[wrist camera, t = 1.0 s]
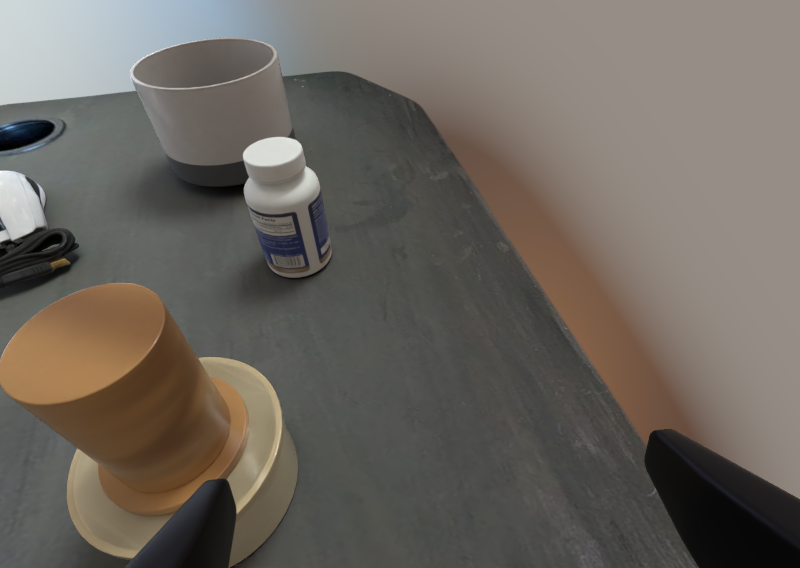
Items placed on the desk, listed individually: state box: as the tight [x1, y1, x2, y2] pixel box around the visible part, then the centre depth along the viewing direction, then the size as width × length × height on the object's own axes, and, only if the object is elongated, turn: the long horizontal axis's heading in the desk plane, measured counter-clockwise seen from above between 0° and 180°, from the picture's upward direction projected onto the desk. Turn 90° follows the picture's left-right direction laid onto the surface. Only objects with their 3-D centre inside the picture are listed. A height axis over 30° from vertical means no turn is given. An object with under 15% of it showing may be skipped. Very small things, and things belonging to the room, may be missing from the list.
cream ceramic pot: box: [67, 357, 298, 568], centre depth 22 cm, size 9×9×5 cm
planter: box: [130, 38, 296, 187], centre depth 43 cm, size 13×13×10 cm
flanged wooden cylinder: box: [0, 283, 249, 516], centre depth 17 cm, size 6×6×8 cm
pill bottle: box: [243, 137, 332, 278], centre depth 33 cm, size 5×5×10 cm
